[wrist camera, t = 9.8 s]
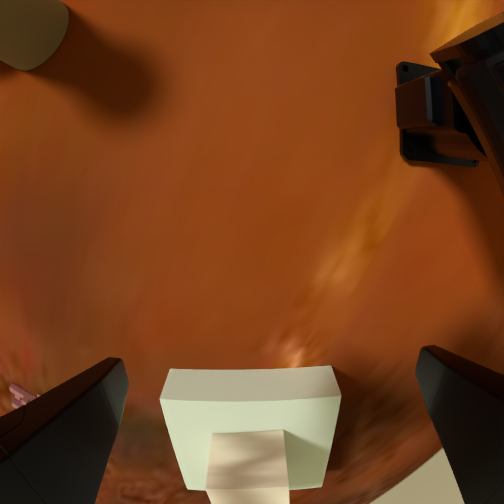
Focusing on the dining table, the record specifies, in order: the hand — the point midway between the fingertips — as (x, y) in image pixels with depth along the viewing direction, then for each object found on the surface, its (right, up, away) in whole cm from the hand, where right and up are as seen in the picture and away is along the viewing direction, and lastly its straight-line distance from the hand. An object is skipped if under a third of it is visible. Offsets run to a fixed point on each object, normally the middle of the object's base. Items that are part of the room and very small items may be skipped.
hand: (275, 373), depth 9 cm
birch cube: (-1, -12, +12) cm, 17 cm away
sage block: (-1, -11, +16) cm, 20 cm away
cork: (-17, +19, +7) cm, 26 cm away
